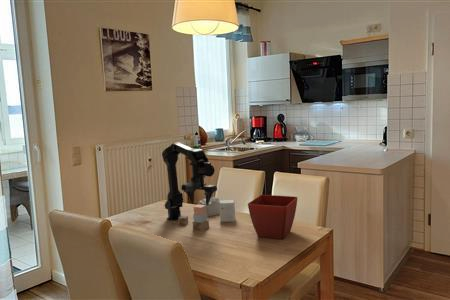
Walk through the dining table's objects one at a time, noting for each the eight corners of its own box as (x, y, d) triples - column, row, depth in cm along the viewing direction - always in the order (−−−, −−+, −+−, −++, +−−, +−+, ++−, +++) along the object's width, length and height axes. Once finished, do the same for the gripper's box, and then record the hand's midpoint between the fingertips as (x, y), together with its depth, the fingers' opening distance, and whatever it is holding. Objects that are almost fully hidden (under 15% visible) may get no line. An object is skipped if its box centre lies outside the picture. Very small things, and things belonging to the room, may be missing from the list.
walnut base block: (193, 229, 204) (192, 222, 203) (199, 225, 209) (199, 218, 208) (202, 230, 201) (202, 223, 200) (209, 227, 206) (208, 219, 205)
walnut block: (178, 225, 212) (178, 218, 211) (181, 222, 215) (180, 215, 215) (186, 225, 211) (185, 218, 210) (188, 223, 215) (187, 215, 214)
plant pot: (262, 225, 203) (261, 194, 201) (298, 229, 195) (298, 196, 193) (248, 238, 186) (246, 203, 184) (287, 243, 178) (286, 206, 176)
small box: (235, 218, 218) (234, 199, 217) (234, 221, 213) (234, 202, 211) (221, 218, 219) (220, 200, 218) (220, 221, 214) (219, 203, 212)
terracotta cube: (194, 214, 203) (193, 206, 202) (199, 211, 207) (198, 204, 206) (201, 215, 201) (200, 207, 200) (206, 212, 204) (205, 205, 204)
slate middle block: (193, 221, 203) (193, 214, 203) (198, 219, 208) (198, 211, 207) (201, 222, 201) (201, 215, 200) (206, 220, 205) (206, 212, 205)
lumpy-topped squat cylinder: (198, 212, 233) (197, 198, 232) (217, 208, 240) (216, 194, 238) (206, 216, 224) (205, 202, 223) (226, 212, 231) (225, 198, 229)
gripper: (173, 176, 199) (175, 206, 201) (204, 178, 189) (206, 210, 191) (186, 172, 208) (188, 201, 210) (216, 174, 199) (218, 204, 201)
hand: (199, 204), depth 203 cm, fingers open, 9 cm apart
